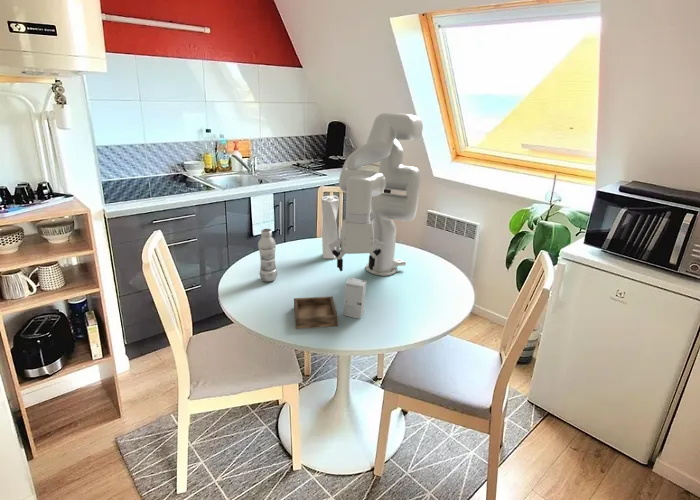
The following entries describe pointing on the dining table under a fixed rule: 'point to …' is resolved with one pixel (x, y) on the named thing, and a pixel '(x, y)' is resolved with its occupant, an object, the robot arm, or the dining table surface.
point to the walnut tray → (315, 312)
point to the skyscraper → (329, 225)
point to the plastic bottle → (267, 256)
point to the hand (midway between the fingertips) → (355, 269)
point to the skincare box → (354, 298)
